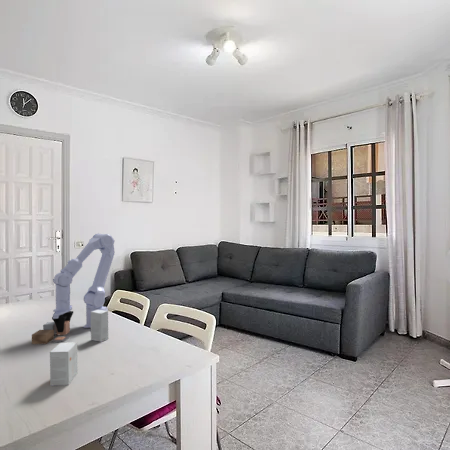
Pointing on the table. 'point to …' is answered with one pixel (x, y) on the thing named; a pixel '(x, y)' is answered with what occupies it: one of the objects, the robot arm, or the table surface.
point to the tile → (60, 339)
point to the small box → (63, 363)
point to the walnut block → (42, 336)
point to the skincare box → (99, 325)
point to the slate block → (50, 327)
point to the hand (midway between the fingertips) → (63, 330)
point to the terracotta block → (65, 328)
